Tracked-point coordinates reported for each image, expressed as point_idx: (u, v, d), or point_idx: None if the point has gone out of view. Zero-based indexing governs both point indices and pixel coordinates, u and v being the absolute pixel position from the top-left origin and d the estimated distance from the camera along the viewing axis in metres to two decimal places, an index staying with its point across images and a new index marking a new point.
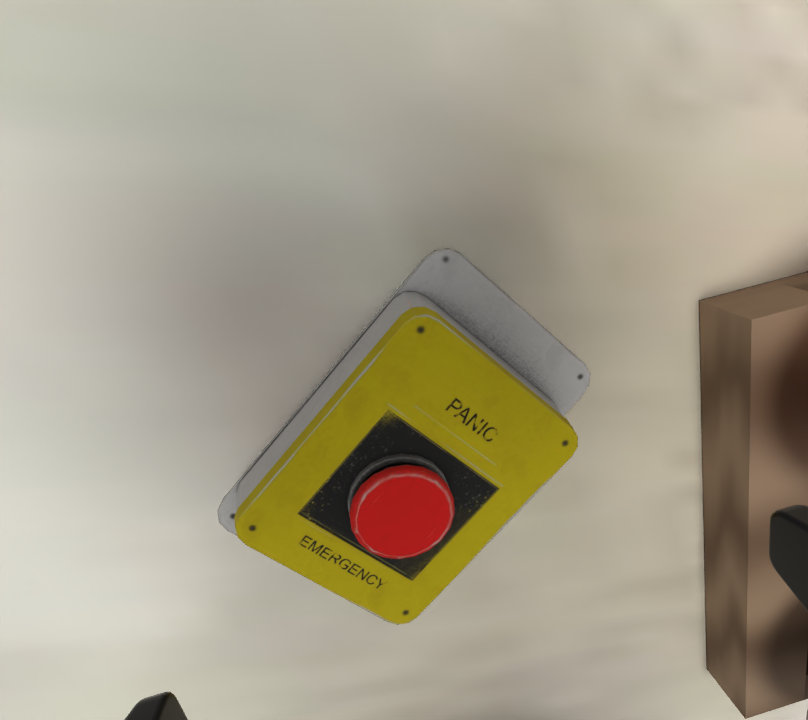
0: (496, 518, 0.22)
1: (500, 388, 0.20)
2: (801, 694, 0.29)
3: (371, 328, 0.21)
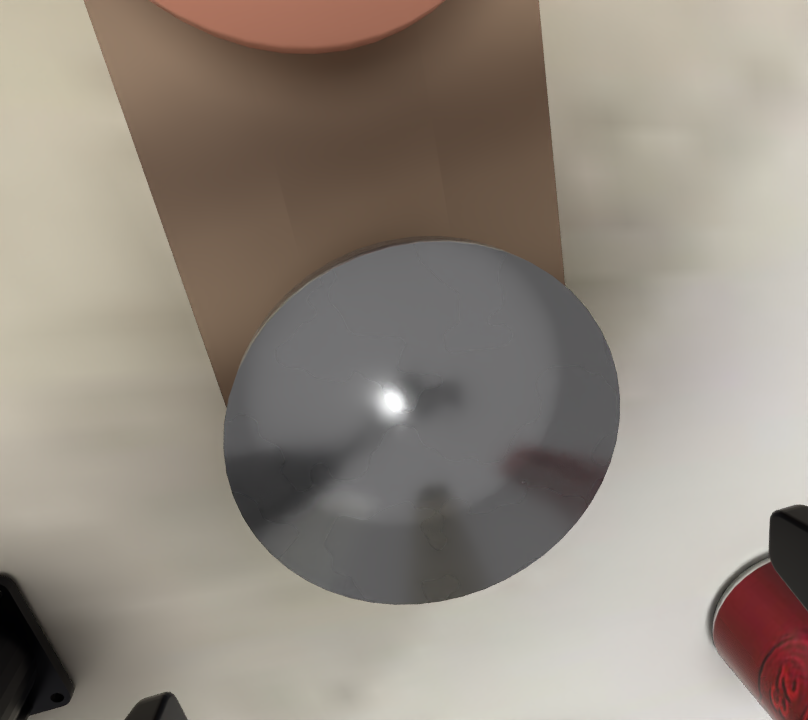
0: None
1: None
2: None
3: None
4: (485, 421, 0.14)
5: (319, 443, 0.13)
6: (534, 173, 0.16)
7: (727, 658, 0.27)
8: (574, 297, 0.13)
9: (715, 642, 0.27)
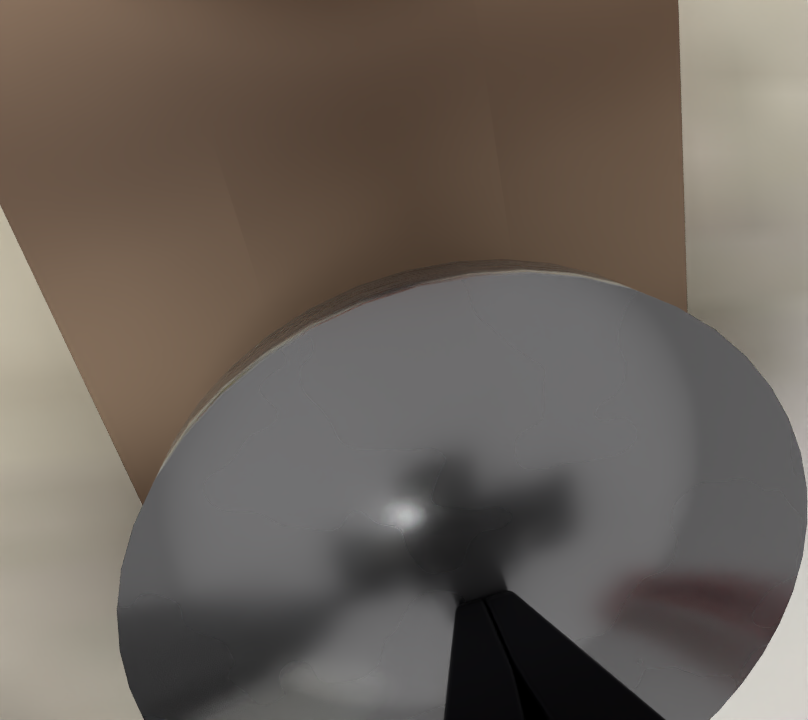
0: None
1: None
2: None
3: None
4: (582, 576, 0.08)
5: (294, 630, 0.08)
6: (650, 149, 0.10)
7: None
8: (750, 366, 0.07)
9: None
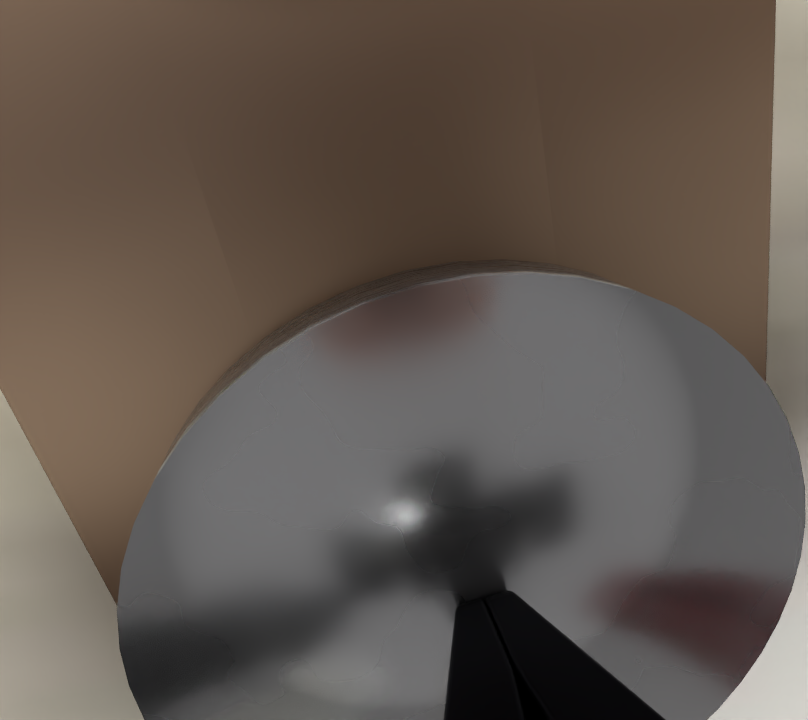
0: None
1: None
2: None
3: None
4: (581, 575, 0.08)
5: (293, 629, 0.08)
6: (732, 147, 0.08)
7: None
8: (748, 366, 0.07)
9: None
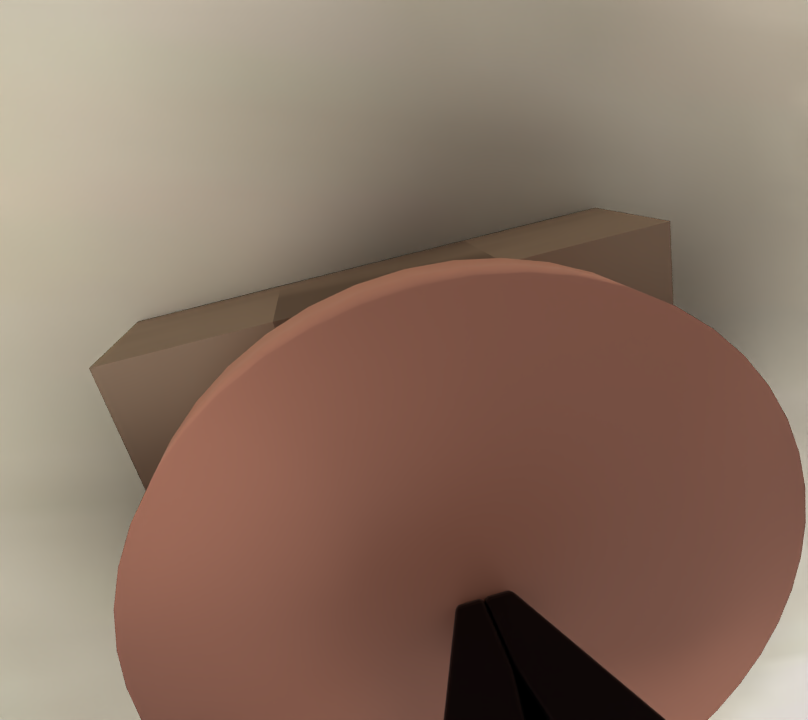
0: None
1: None
2: None
3: None
4: None
5: None
6: None
7: None
8: None
9: None
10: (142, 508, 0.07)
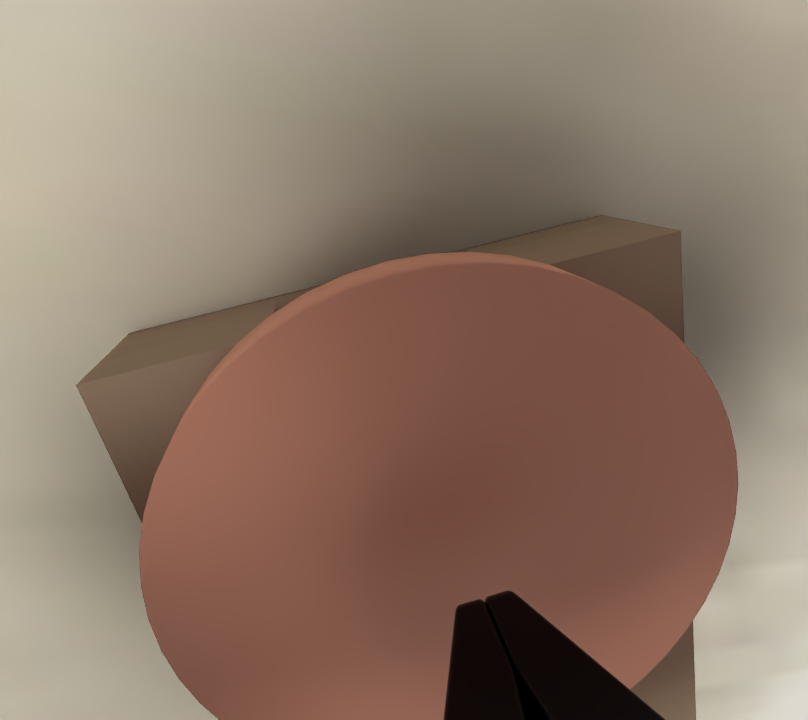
0: None
1: None
2: None
3: None
4: None
5: None
6: (674, 706, 0.15)
7: None
8: None
9: None
10: (164, 462, 0.08)
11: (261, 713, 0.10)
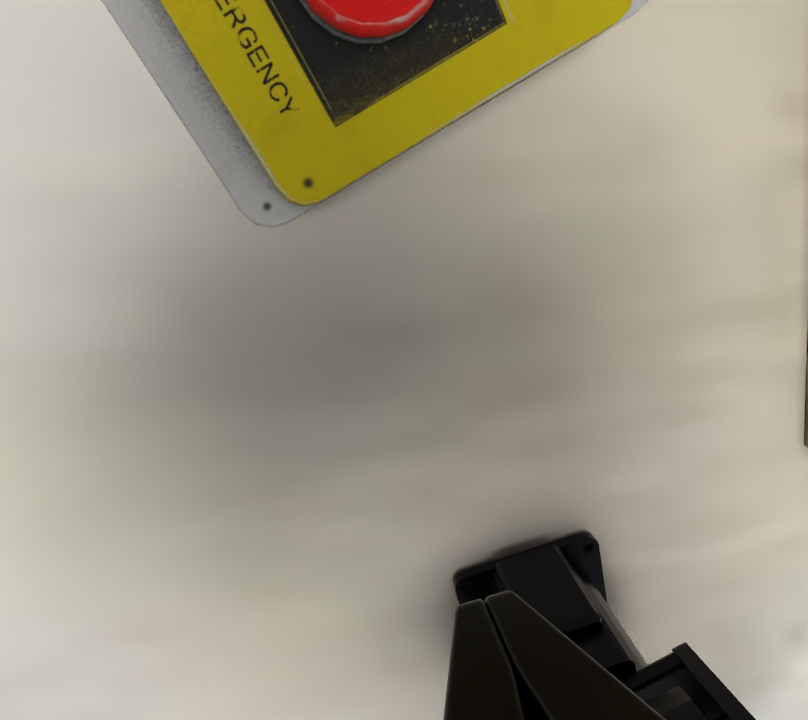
0: (485, 76, 0.15)
1: None
2: None
3: None
4: None
5: None
6: None
7: None
8: None
9: None
10: None
11: None
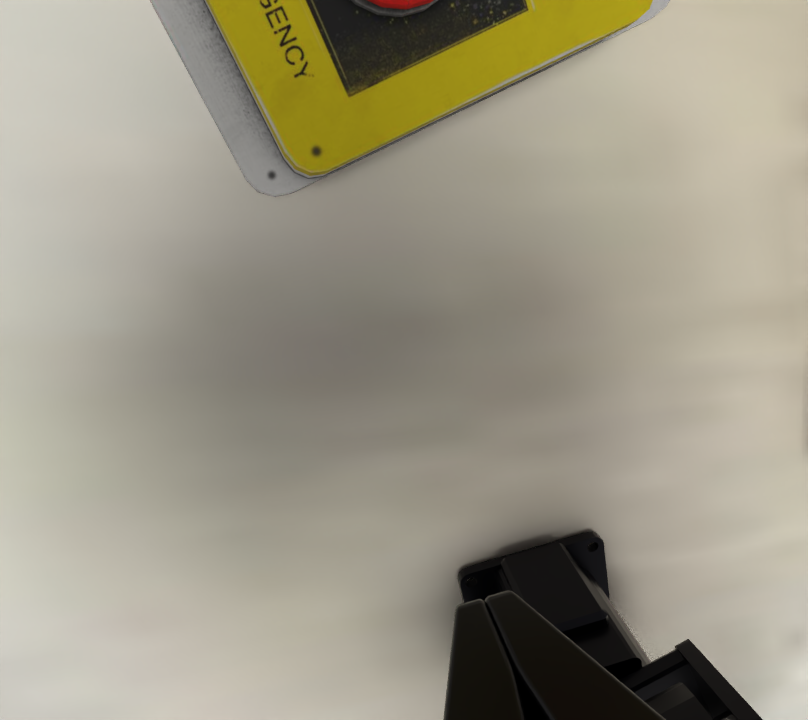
0: (502, 61, 0.15)
1: None
2: None
3: None
4: None
5: None
6: None
7: None
8: None
9: None
10: None
11: None
